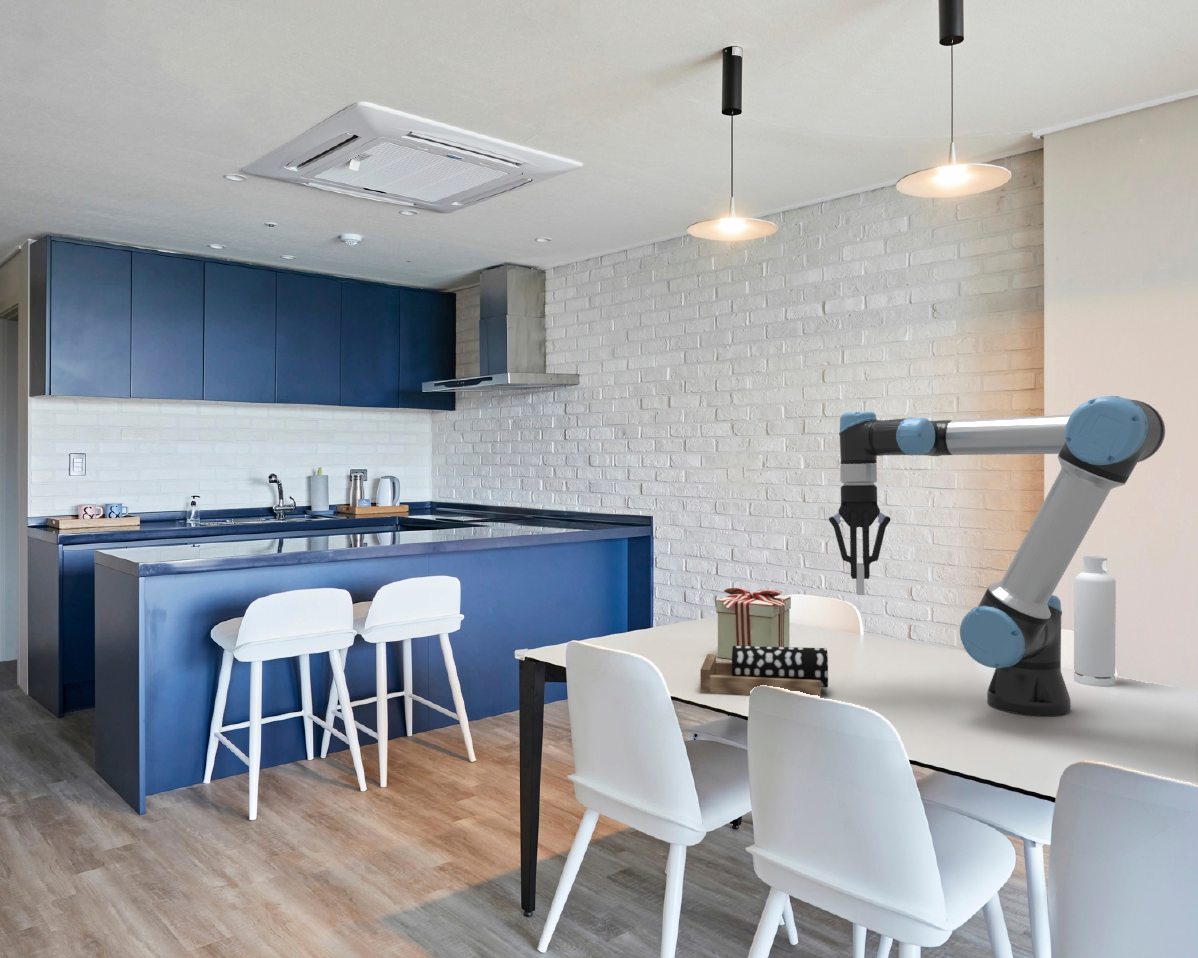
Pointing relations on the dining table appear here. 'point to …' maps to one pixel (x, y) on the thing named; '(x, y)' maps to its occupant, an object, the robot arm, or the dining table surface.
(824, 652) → the spotted tube
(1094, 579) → the bottle
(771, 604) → the gift box
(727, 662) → the cradle
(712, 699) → the dining table surface
